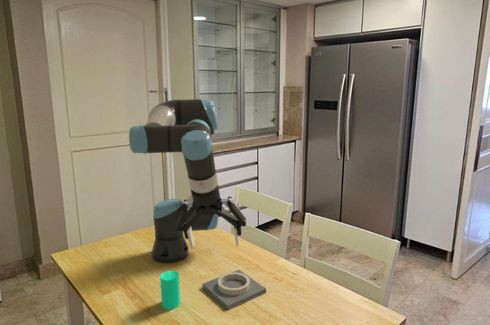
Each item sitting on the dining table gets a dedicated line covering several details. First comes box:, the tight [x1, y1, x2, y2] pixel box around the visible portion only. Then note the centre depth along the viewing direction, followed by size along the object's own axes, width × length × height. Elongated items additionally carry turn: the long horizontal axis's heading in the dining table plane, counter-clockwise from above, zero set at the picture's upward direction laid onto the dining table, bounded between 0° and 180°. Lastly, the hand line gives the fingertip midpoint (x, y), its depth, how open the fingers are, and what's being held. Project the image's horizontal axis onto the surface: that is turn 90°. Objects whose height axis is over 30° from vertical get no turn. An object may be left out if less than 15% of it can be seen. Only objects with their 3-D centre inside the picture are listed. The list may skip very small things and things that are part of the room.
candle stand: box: [201, 269, 267, 310], centre depth 123 cm, size 16×16×4 cm
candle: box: [159, 270, 181, 311], centre depth 115 cm, size 6×6×12 cm
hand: (215, 244), depth 107 cm, fingers open, 13 cm apart
